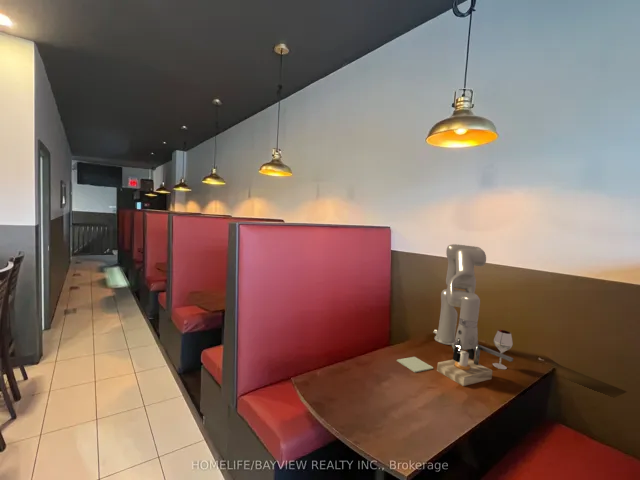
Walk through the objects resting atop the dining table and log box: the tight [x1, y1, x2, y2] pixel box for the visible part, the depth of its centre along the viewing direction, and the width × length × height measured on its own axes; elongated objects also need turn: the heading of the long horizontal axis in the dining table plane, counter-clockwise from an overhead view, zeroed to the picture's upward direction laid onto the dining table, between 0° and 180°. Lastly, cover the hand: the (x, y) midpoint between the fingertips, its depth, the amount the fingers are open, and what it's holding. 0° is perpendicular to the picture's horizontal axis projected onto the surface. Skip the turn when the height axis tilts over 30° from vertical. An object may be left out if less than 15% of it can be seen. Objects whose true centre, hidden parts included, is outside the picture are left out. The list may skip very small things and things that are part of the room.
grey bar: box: [473, 343, 514, 365], centre depth 140 cm, size 16×2×9 cm, turn 34°
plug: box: [455, 350, 470, 370], centre depth 142 cm, size 6×6×11 cm
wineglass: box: [492, 329, 513, 370], centre depth 156 cm, size 8×8×18 cm
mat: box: [396, 356, 434, 373], centre depth 148 cm, size 12×12×1 cm
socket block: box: [436, 358, 494, 387], centre depth 143 cm, size 14×20×4 cm
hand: (463, 359), depth 141 cm, fingers open, 9 cm apart
